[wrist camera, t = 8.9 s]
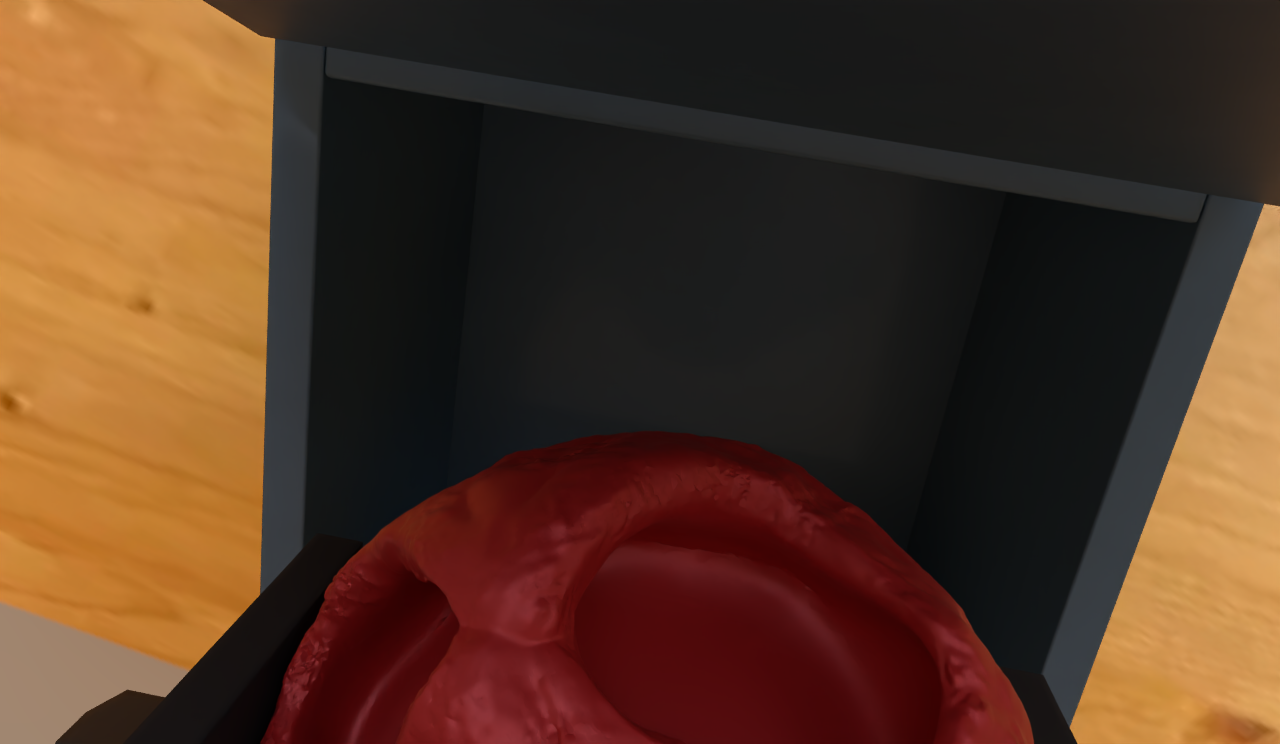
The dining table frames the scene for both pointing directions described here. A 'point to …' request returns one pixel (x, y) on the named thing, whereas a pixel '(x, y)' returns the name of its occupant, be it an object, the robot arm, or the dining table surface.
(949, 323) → the box
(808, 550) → the red tomato
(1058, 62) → the lid
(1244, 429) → the dining table surface
